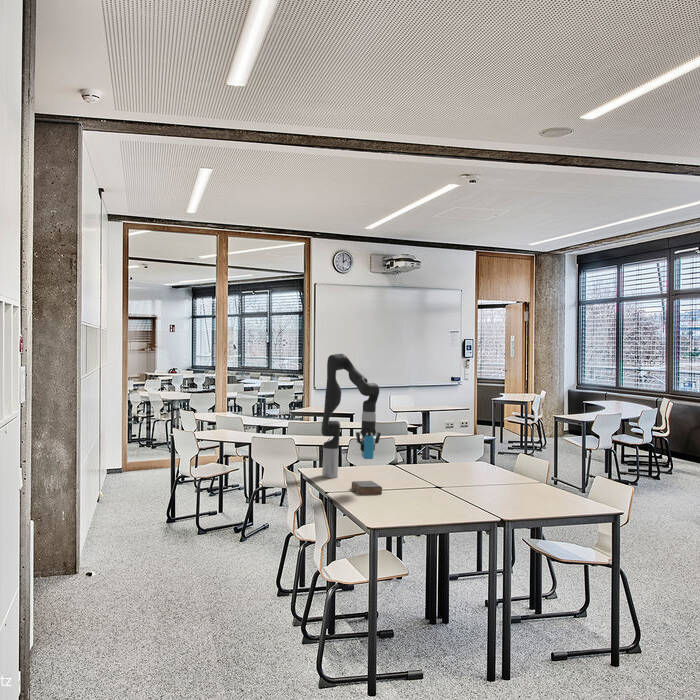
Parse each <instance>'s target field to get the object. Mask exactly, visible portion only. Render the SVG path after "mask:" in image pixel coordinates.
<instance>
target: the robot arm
mask: <svg viewBox="0 0 700 700" xmlns="http://www.w3.org/2000/svg"><path fill="white" fill-rule="evenodd" d="M326 364H327V365H326V386H325V387H326V388H325V397H324V410H323V416H322V422H321V423H322V424H321V430H320V431H321V435H322V436H323V437H332V438H331V439H329V440H328V441H325V442H323V446H322V448H323V449H322V451H323V452H322V468H321V469H322V472H321V473H322V474H321V476H322V477H323V478H327V479H336V478H338V477H339V475H338V474H339V473H338V472H339V450H340V449H339V448H340V437H341V436H340V434H341V424H340V421H338V420H330V418H331V416H332V414H333V413H334V412H335V410H337V408H338V406H339V405H340V404H341V401H342V388H341V387H340V384H339V383H338V380H337V371H342V370H345V371H346V372H347V373H348V379H349V381H350V382H351V383H352V384H353V385H354V386H356V387H357V389H358V391H359V393H360V395H362V396H364V397H368V399H366V400H364V401H363V403H362V413H361V429H360V431H356V432H355V437H356V443H358V444H360V451H361V453H362V452H364V438H365V437H364V436H373V437H375V438H374V451H375V450H376V449H375V447H376V445H377V444H379V442H380V437H381V432H379V431H377V430H376V423H377V422H376V420H377V413H376V407H377V406H376V405H377V401H378V399H379V395H380V387H379V385H378V383H375V382H368V379H367V377H366V376H365V375H363V374H362V373H361V372H360V371H359V370H358V369H357V368H356V367H355V365H354V364H353V362H352V361H351V360H350V358H348V356H347V355H345V354H344V353H336V354H331V355H329V356H328V357H327V360H326Z"/></svg>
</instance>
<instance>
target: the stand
mask: <svg viewBox="0 0 700 700" xmlns="http://www.w3.org/2000/svg"><path fill="white" fill-rule="evenodd" d="M351 489H352V490H353V491H354V492H356V493H357V494H358V495H361V496H363V495H364V496H366V495H368V496H369V495H382V493H383V487H382V485H379V484H378V483H377V482H374V481H373V480H355V481H351Z"/></svg>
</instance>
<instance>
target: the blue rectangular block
mask: <svg viewBox="0 0 700 700" xmlns="http://www.w3.org/2000/svg"><path fill="white" fill-rule="evenodd" d="M364 437H365V438H364V452H362V451H361V457H362V458H363V459H364V460H373V459H374V451H375V450H374V441H375V436H364Z"/></svg>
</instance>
